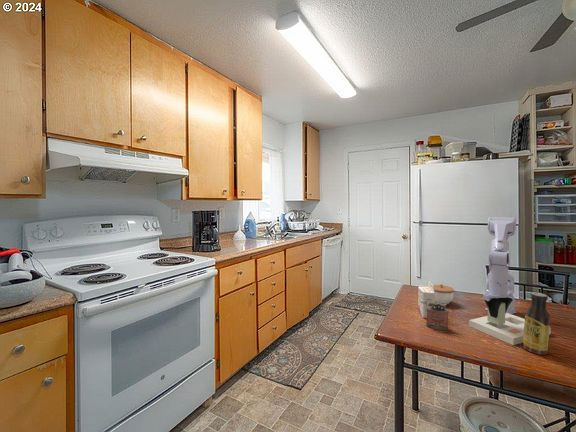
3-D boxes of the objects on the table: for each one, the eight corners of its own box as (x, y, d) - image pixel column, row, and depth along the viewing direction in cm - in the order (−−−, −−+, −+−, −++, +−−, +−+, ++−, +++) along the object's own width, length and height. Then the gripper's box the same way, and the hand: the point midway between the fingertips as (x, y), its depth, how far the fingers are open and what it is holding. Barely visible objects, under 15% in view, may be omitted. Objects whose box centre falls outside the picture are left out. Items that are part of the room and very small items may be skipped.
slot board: (504, 317, 117) (504, 311, 117) (550, 334, 102) (550, 327, 102) (469, 326, 109) (469, 319, 109) (513, 345, 94) (513, 337, 94)
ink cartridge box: (417, 310, 126) (417, 279, 125) (428, 311, 125) (429, 280, 124) (422, 318, 117) (423, 285, 117) (435, 319, 116) (435, 285, 116)
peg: (494, 319, 108) (494, 299, 107) (505, 323, 104) (505, 303, 104) (487, 320, 106) (487, 301, 106) (498, 325, 103) (498, 304, 102)
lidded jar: (458, 306, 130) (458, 287, 129) (436, 306, 130) (436, 287, 129) (445, 298, 140) (446, 281, 140) (425, 299, 141) (425, 281, 140)
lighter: (447, 326, 109) (447, 302, 109) (449, 330, 106) (449, 305, 105) (425, 324, 112) (425, 300, 111) (426, 327, 108) (427, 303, 108)
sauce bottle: (518, 346, 94) (519, 290, 93) (534, 345, 94) (536, 290, 93) (536, 356, 87) (539, 297, 86) (554, 355, 88) (556, 296, 87)
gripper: (499, 277, 110) (498, 309, 111) (475, 281, 105) (474, 314, 106) (519, 282, 104) (518, 316, 104) (494, 286, 99) (493, 322, 99)
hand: (497, 316), depth 105 cm, fingers closed on peg, 4 cm apart
